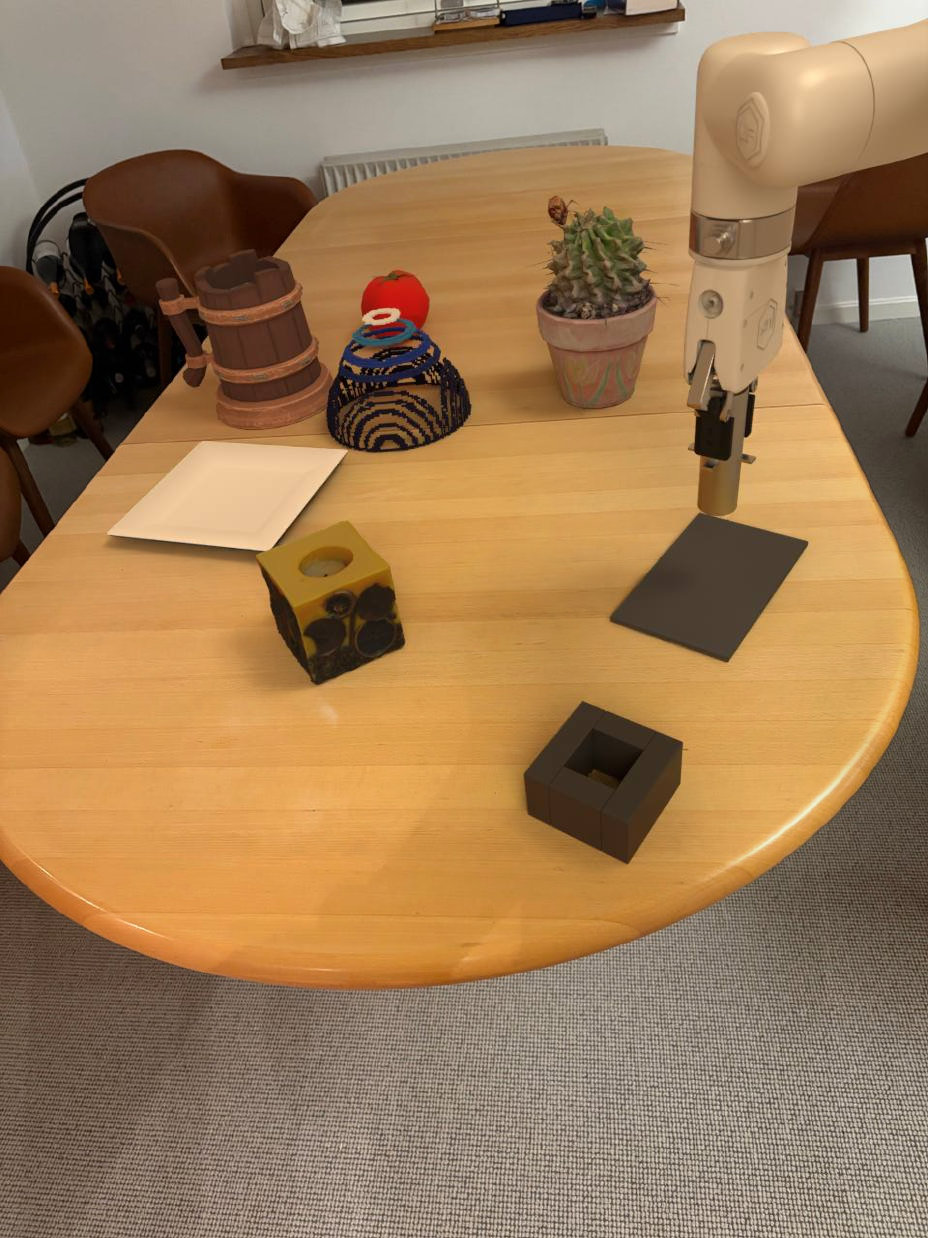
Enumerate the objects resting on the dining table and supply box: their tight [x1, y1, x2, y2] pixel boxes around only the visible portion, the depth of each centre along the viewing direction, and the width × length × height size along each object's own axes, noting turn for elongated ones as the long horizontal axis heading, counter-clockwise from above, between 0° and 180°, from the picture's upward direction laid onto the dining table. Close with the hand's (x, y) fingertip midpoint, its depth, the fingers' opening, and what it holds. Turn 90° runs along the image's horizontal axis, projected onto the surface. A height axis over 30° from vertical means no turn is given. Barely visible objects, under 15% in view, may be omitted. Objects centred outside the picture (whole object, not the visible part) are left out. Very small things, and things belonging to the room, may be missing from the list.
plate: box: [106, 440, 349, 553], centre depth 110 cm, size 22×22×2 cm
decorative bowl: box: [325, 308, 472, 454], centre depth 119 cm, size 20×20×14 cm
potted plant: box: [517, 195, 680, 410], centre depth 114 cm, size 18×20×25 cm
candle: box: [255, 520, 406, 686], centre depth 85 cm, size 10×10×10 cm
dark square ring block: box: [523, 700, 684, 865], centre depth 68 cm, size 9×9×5 cm
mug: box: [155, 248, 335, 430], centre depth 126 cm, size 18×23×20 cm
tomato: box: [360, 269, 430, 338], centre depth 142 cm, size 11×13×10 cm
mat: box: [609, 512, 809, 663], centre depth 88 cm, size 12×20×1 cm, turn 144°
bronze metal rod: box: [687, 378, 757, 517], centre depth 79 cm, size 6×6×12 cm
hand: (722, 442), depth 78 cm, fingers closed on bronze metal rod, 3 cm apart
